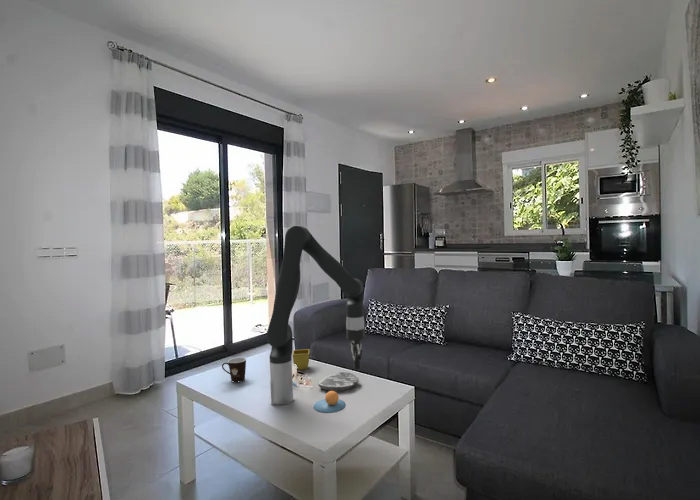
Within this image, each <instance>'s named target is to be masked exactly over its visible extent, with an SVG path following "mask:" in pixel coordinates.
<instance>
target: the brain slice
mask: <svg viewBox="0 0 700 500" xmlns="http://www.w3.org/2000/svg"><path fill="white" fill-rule="evenodd" d="M358 382H360V381H359V377H357V376H356V374H355V375H354V374H353V373H350V372H346V371H345V372H344V371H343V372H342V371H341V372H338V373H335V374H331V375H327V376H324V377H323V378H322V380H321V381H319V382H318V387H319V388H320V389H322V390H326V391H327V392H329V391H335V392H336V393H337V392H340V391H346V390H350V389H351V388H353V387H355V386H356V385H357V384H358Z"/></svg>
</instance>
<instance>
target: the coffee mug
mask: <svg viewBox="0 0 700 500" xmlns="http://www.w3.org/2000/svg"><path fill="white" fill-rule="evenodd" d="M224 365H228V369H229V371H228V370H227V369H225V368H224ZM246 367H247V358H245V357H235V358H234V357H233V358H230V359H229V360H228V361H227V362H223V363H222V365H221V368H222V370H223V371H224V372H226V373H227V374H229V375H230V381H231V382H232V381H234V382H237V383H239V382H238V381H242V382H244V381H245V379H246V369H247V368H246ZM243 380H244V381H243ZM234 382H233V383H234Z"/></svg>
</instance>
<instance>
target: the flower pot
mask: <svg viewBox="0 0 700 500" xmlns="http://www.w3.org/2000/svg"><path fill="white" fill-rule="evenodd" d="M292 363H293V365H294V364H296V365H297V367H298V369H299V370H298V371H300V370H307V369H308V367H309V363H310V349H309V348H307V349H306V348H305V349H294V350H293V351H292Z"/></svg>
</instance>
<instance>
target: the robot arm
mask: <svg viewBox="0 0 700 500" xmlns="http://www.w3.org/2000/svg"><path fill="white" fill-rule="evenodd" d="M284 235H285V237H284V243H283V244H284V245H283V246H284V247H283V256H282V261H281V266H280V270H279V273H278V274H279V275H278V278H277V283H276V288H275V289H276V290H275V294H274V295H275V296H274V301H273V309H272V314H271V318H270V321H269V324H268V328H267V330H266V334H265V335H266V341H267V343H268V345H270V346H271V350H270V354H269V371H270V372H269V374H270V381H269V383H270V386H269V387H270V403H271V404H270V405H277V406H281V405H288V404H291V403H292V402H293V401H294V384H293V383H294V382H293V351H294V350H293V349H294V348H293V347H294V346H293V344H294V343H293V342H294V341H293V330H292V327H291V325H290V323H289V321H290V316H291V312H292V310H293V307H294V306H295V303H296V300H297V298H298V295H299V290H300V284H301V257H302V253H303V251H304V252H305V253H307V254H308V255H309V256H310V257H311V258H312V259H313V260H314V261H315V262H316V264H317V265H318V266H319V267H320V269H321V270H322V271H323V272H324V273H325V274H326V275H327V276H328V277H329V278H330V279H331V280H333V281H334V282H335V283H336V284H337V286H338V287H339V288H340V289H341V290H342V292H343V293H344V294H346V296H347V301H346V307H345V308H346V309H345V314H346V315H345V316H346V318H345V319H346V320H345V325H346V326H345V327H346V328H345V329H346V332H345V333H346V339H347V340H348V341H351V342H350V348H351V349H350V350H351V356H352V359H353V369H354V370H360V368H361V365H360V364H361V363H360V362H361V360H362V355H363V350H362V346H363V345H362V343H361V341H362V340H364V339H365V337H366V333H365V332H366V331H365V330H366V329H365V317H364V305H363V301H364V284H363V282H362V280H360V279H359V278H354V277H353V276H352V275H351V274H350V273H349V272H348V270H347V268H346V267H345V266H343V264H342V263H340V261H338V259H336V258H335V257H333V256H332V255H331V254H330V253H329V252H328V251H327V250H326V249H325V248H324V247H322V245H321V244H320V243H319V242H318V241H317V239H316V238H315V237H314V236H313V234H312V233H311V232H310V231H309V229H308V228H307V227H305V226H302V225H291V226H290V227H288V228H287V230H286V233H285V234H284Z"/></svg>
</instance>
